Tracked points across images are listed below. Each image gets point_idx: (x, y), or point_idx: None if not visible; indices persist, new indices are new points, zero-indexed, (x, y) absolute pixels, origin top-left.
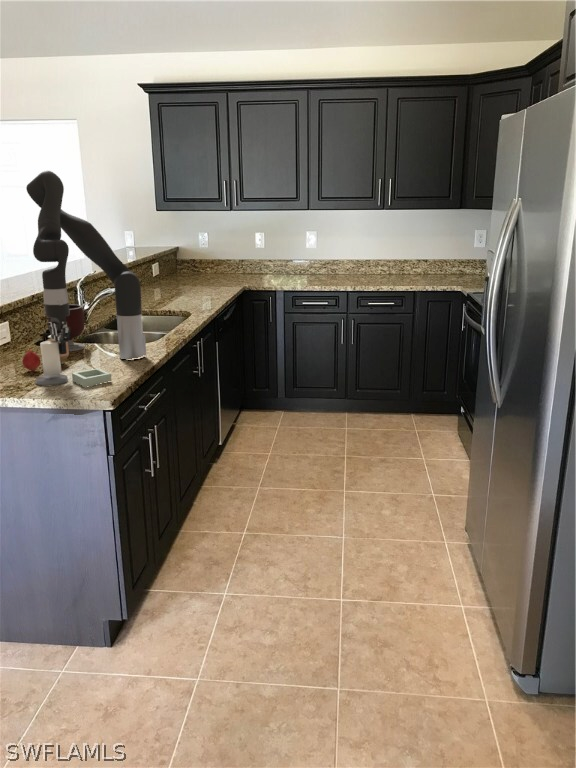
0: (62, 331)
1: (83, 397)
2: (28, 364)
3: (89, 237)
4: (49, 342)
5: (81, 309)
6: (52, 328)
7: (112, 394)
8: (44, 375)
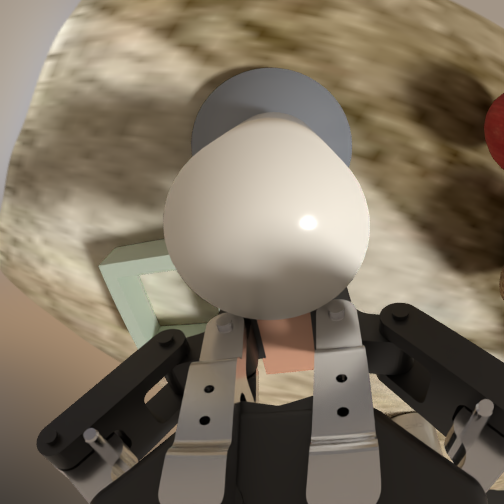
0: (68, 422)
1: (25, 216)
2: (495, 104)
3: None
4: (277, 241)
5: None
6: (341, 419)
7: (38, 293)
8: (346, 128)
